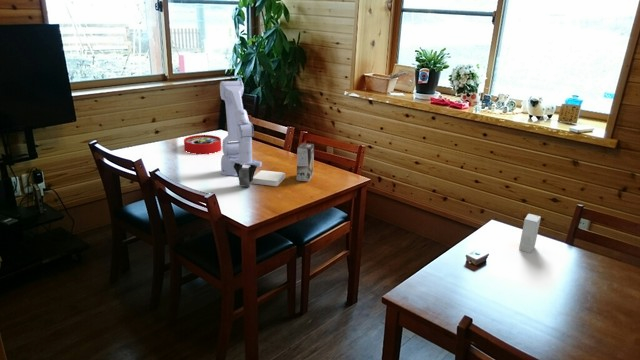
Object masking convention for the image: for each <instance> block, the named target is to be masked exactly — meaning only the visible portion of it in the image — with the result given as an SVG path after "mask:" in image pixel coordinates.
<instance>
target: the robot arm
mask: <svg viewBox="0 0 640 360" xmlns="http://www.w3.org/2000/svg"><path fill="white" fill-rule="evenodd" d="M244 86H245V85H244V83H243V80H231V81H230V80H226V81H223V80H221V81H220V83H219V93H220V94H219V95H220V98H221V100H223V101H224V103H225V114H226V115H225V116H226V125H227V126H226V128H227V136H225V137H224V138H223V140H222V145H221V150H222V153H223V154H222V156H221V160H220V168H221V170H220V172H221V173H220V174H221V175H225V176H232V177H238V179H239V170H240V169H242V168H243V166H248V167H247V168H248V169H249V180H250V182H251V181H253V177H254V176H255V173H256V170H257V169H258V168H261V167H262V166H263V164H262V163H263V162H262V161H260V160H259V161H258V160H255V159H253V138H252V137H254V135H255V134H254V131H255V130H254V125H253V123H252V122H251V121H250V119H249V116H248V112H247V109H244V104H243V98H242V97H243V94H244V90H245V87H244Z"/></svg>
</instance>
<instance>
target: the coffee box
mask: <svg viewBox="0 0 640 360" xmlns="http://www.w3.org/2000/svg"><path fill="white" fill-rule="evenodd" d="M296 151H297V152H296V181H300V182H301V181H302V182H307V183H308V182H310V181H311V179H312V178H313V177H314V160H315V159H314V157H315V156H314V155H315V144H314V143H307V142H306V143H304V142H301V143H300V144H299V146H298V147H297V150H296Z"/></svg>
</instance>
